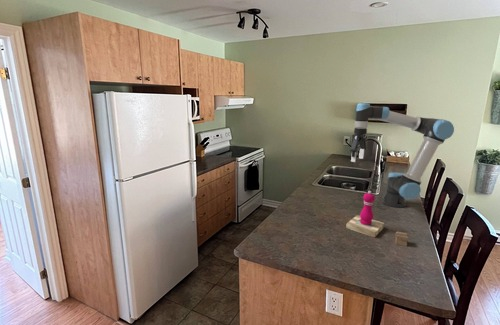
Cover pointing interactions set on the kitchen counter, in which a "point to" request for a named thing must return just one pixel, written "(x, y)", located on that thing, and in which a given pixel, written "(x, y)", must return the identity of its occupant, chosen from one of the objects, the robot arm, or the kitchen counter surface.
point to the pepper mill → (367, 209)
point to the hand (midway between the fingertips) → (357, 160)
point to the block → (401, 238)
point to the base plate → (365, 226)
